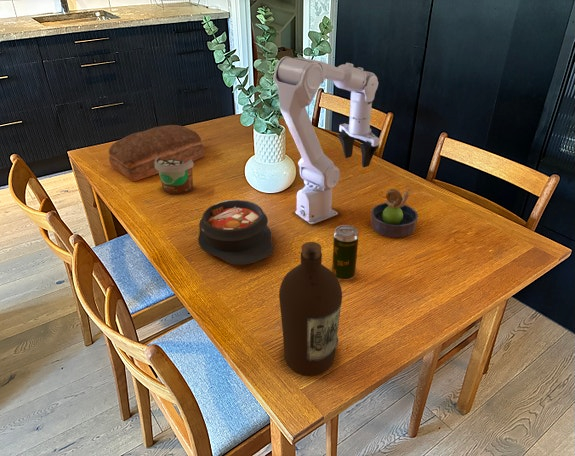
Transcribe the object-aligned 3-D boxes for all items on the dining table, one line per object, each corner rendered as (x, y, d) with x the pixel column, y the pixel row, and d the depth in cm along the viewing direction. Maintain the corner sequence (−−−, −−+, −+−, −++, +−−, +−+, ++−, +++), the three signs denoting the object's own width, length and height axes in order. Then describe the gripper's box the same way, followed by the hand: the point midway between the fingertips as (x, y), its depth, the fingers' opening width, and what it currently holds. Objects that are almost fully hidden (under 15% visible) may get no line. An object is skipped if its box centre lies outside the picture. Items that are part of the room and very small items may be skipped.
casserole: (184, 229, 123) (179, 202, 118) (246, 211, 130) (245, 184, 126) (221, 281, 104) (217, 251, 100) (291, 255, 112) (291, 227, 108)
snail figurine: (399, 233, 119) (405, 192, 112) (377, 225, 122) (382, 185, 116) (408, 224, 122) (414, 184, 116) (386, 216, 126) (391, 177, 119)
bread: (108, 168, 156) (100, 136, 149) (182, 144, 172) (178, 114, 166) (132, 184, 145) (124, 151, 139) (208, 157, 162) (205, 126, 156)
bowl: (392, 244, 116) (394, 231, 113) (360, 223, 124) (361, 210, 122) (425, 229, 121) (427, 216, 119) (392, 210, 130) (394, 198, 127)
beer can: (352, 266, 108) (355, 223, 102) (357, 280, 104) (361, 237, 97) (329, 267, 108) (331, 225, 101) (334, 282, 103) (336, 238, 97)
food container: (151, 194, 140) (145, 164, 134) (161, 185, 145) (155, 155, 139) (189, 198, 137) (184, 168, 132) (197, 189, 142) (193, 159, 137)
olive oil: (270, 351, 87) (264, 242, 73) (314, 327, 92) (316, 221, 78) (303, 389, 79) (304, 276, 66) (349, 361, 84) (359, 251, 71)
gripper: (389, 120, 122) (384, 166, 130) (353, 106, 132) (350, 150, 140) (370, 126, 119) (366, 173, 126) (334, 111, 129) (332, 155, 136)
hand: (356, 161), depth 133 cm, fingers open, 7 cm apart
